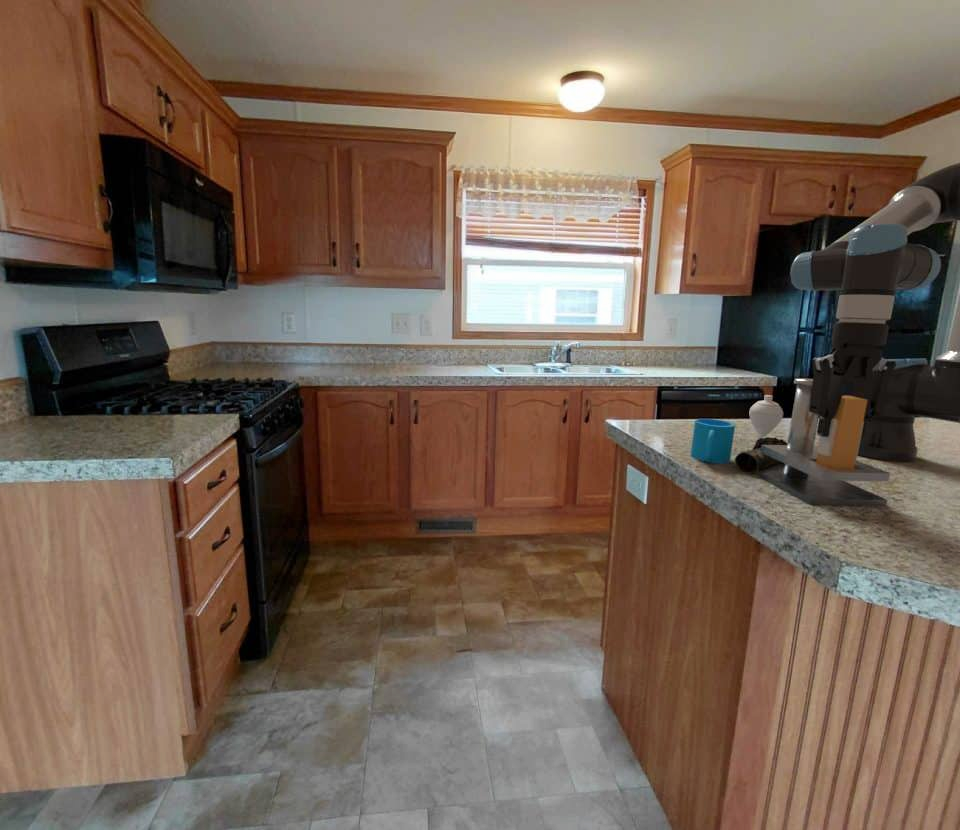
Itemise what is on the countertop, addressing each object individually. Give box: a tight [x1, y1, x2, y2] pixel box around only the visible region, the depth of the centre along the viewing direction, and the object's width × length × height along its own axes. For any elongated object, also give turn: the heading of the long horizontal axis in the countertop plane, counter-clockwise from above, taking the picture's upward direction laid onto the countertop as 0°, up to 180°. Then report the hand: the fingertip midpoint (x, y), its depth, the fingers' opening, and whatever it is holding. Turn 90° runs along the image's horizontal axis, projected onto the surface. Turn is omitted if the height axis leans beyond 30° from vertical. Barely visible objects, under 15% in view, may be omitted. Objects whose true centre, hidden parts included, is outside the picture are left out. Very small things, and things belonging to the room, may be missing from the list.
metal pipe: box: [734, 436, 788, 474], centre depth 110 cm, size 18×7×6 cm, turn 125°
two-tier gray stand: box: [754, 377, 891, 506], centre depth 94 cm, size 14×18×20 cm
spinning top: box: [748, 394, 784, 438], centre depth 131 cm, size 8×8×12 cm
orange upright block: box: [816, 395, 867, 469], centre depth 90 cm, size 4×4×14 cm
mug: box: [690, 418, 736, 464], centre depth 112 cm, size 12×8×8 cm
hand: (836, 454), depth 91 cm, fingers closed on orange upright block, 4 cm apart
